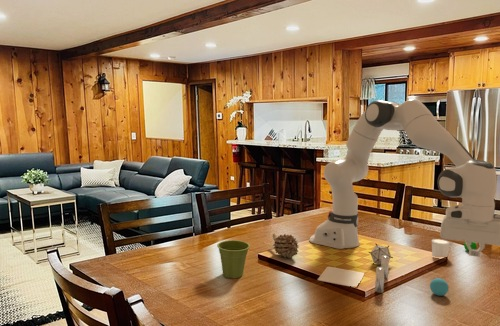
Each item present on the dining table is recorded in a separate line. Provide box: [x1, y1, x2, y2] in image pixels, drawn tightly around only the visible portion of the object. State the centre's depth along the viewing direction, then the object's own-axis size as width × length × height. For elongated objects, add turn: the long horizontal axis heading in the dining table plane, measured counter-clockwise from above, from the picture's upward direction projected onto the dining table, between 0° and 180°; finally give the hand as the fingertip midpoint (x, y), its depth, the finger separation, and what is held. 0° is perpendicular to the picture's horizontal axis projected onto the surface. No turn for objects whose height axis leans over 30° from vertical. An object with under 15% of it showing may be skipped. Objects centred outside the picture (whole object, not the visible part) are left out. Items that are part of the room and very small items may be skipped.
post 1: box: [374, 266, 385, 294], centre depth 133 cm, size 3×3×8 cm
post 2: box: [380, 255, 390, 280], centre depth 144 cm, size 3×3×8 cm
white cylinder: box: [431, 238, 451, 258], centre depth 166 cm, size 7×7×7 cm
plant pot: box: [216, 239, 251, 279], centre depth 145 cm, size 12×12×11 cm
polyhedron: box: [463, 241, 478, 252], centre depth 174 cm, size 5×5×5 cm
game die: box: [368, 243, 394, 265], centre depth 157 cm, size 9×8×10 cm
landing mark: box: [317, 266, 365, 288], centre depth 145 cm, size 14×14×1 cm
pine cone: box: [272, 233, 300, 259], centre depth 167 cm, size 22×10×10 cm, turn 22°
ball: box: [429, 277, 449, 297], centre depth 131 cm, size 6×6×6 cm
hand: (474, 255), depth 125 cm, fingers closed
